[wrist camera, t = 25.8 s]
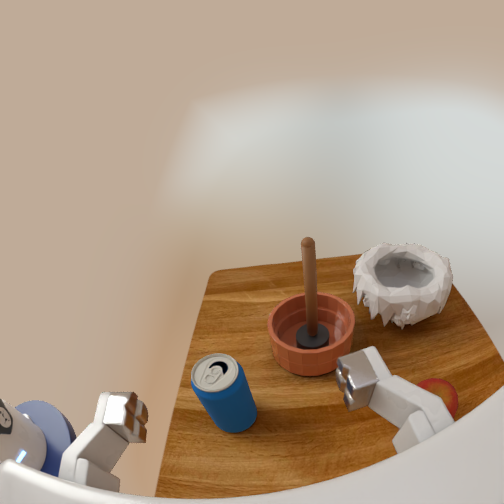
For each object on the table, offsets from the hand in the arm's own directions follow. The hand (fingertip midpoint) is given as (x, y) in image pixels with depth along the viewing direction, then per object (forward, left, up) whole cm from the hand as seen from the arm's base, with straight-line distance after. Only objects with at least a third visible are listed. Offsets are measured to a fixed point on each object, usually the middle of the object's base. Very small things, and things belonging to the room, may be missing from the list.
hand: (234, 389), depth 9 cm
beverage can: (0, +14, -28) cm, 32 cm away
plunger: (+17, +20, -27) cm, 38 cm away
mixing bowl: (+17, +20, -28) cm, 38 cm away
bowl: (+37, +17, -28) cm, 49 cm away
